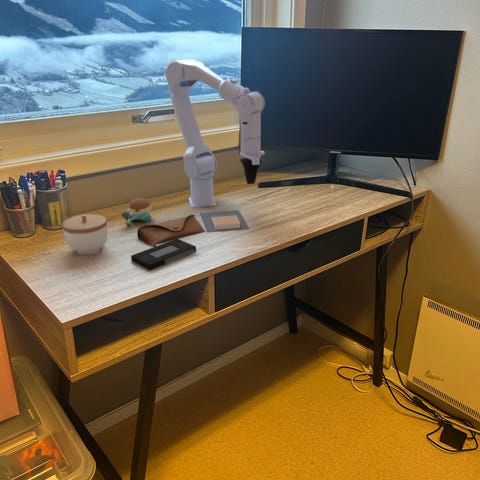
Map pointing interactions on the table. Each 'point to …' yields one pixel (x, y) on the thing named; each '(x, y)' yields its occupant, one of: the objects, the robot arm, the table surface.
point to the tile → (225, 222)
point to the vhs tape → (163, 254)
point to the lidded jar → (86, 233)
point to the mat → (208, 216)
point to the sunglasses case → (169, 230)
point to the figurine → (137, 211)
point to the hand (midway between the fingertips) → (250, 183)
